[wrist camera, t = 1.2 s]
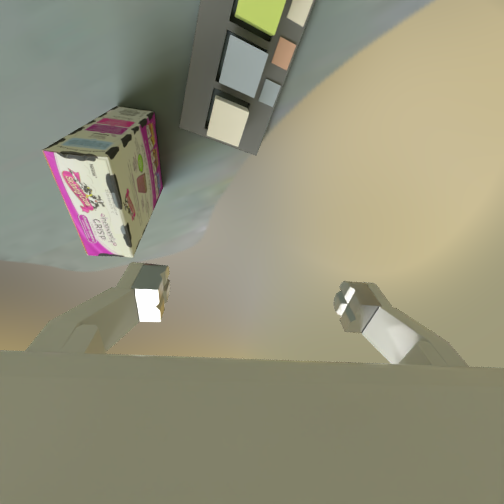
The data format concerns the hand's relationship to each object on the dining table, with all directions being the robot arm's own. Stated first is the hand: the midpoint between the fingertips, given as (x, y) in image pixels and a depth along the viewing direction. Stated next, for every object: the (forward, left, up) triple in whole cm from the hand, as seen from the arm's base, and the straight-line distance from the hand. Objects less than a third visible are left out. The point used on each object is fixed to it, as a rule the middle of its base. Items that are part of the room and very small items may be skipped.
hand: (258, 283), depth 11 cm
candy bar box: (+8, -11, -29) cm, 32 cm away
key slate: (-6, -1, -27) cm, 28 cm away
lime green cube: (-12, -1, -27) cm, 30 cm away
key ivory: (-1, -1, -27) cm, 27 cm away
